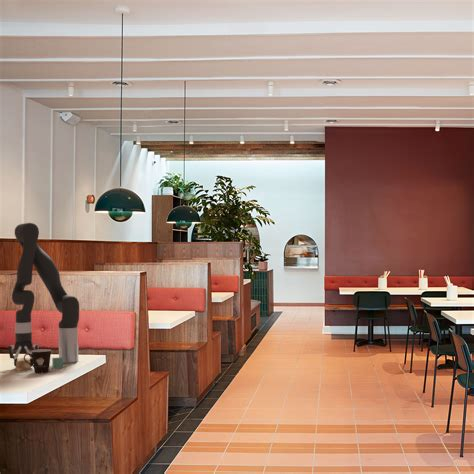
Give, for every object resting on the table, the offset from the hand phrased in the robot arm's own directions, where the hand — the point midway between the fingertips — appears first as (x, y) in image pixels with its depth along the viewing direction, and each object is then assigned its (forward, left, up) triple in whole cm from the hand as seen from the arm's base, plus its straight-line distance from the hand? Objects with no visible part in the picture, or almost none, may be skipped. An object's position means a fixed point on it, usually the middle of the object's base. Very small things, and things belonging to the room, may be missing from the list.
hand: (23, 366), depth 329 cm
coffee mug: (-9, +12, -1) cm, 15 cm away
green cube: (-16, +1, -1) cm, 16 cm away
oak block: (0, 0, -1) cm, 1 cm away
